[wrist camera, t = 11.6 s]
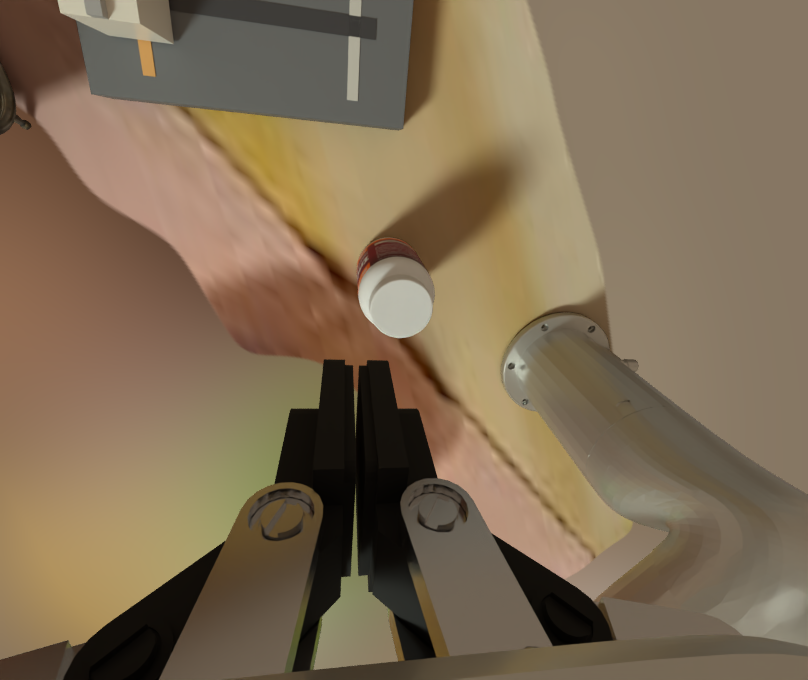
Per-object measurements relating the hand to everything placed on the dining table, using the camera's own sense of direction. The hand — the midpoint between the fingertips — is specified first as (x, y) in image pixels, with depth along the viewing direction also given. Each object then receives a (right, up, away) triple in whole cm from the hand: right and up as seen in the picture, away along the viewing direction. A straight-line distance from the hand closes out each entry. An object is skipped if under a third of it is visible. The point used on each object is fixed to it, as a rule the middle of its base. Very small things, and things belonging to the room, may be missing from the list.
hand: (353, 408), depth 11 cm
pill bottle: (0, +9, +29) cm, 30 cm away
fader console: (-9, +25, +19) cm, 33 cm away
